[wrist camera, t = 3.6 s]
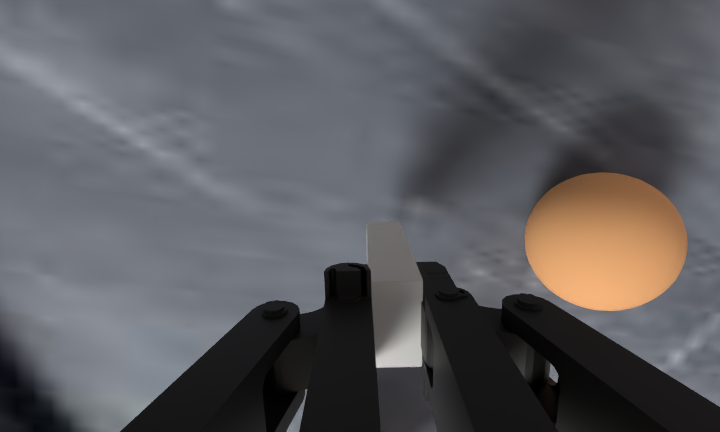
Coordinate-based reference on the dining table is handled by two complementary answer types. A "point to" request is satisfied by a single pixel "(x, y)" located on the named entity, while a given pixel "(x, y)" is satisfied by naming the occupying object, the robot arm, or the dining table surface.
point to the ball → (606, 241)
